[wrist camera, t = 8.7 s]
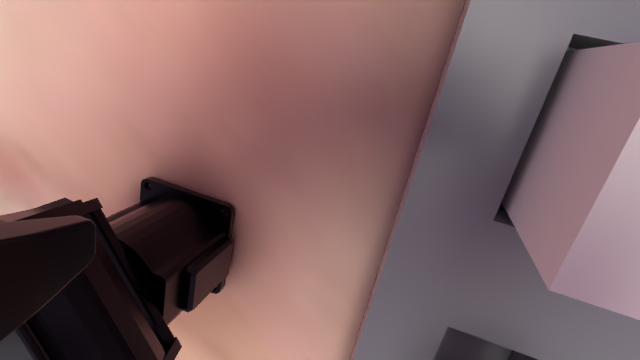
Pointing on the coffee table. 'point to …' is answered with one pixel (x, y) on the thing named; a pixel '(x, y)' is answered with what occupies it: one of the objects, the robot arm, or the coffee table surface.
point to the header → (489, 202)
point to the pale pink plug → (585, 180)
